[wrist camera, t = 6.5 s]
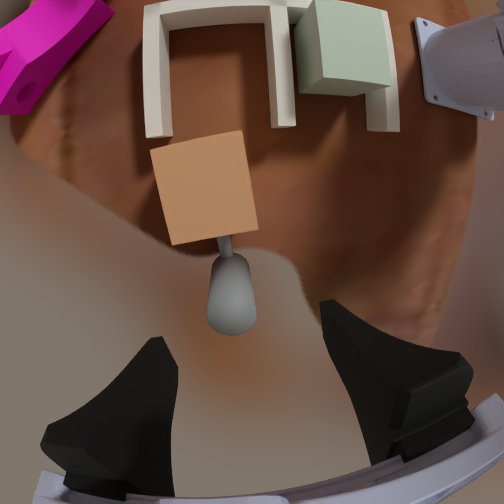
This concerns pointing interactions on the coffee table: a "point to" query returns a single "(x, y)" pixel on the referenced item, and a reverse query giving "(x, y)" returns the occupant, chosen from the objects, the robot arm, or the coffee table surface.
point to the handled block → (212, 217)
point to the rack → (277, 49)
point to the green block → (341, 49)
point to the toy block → (43, 47)
